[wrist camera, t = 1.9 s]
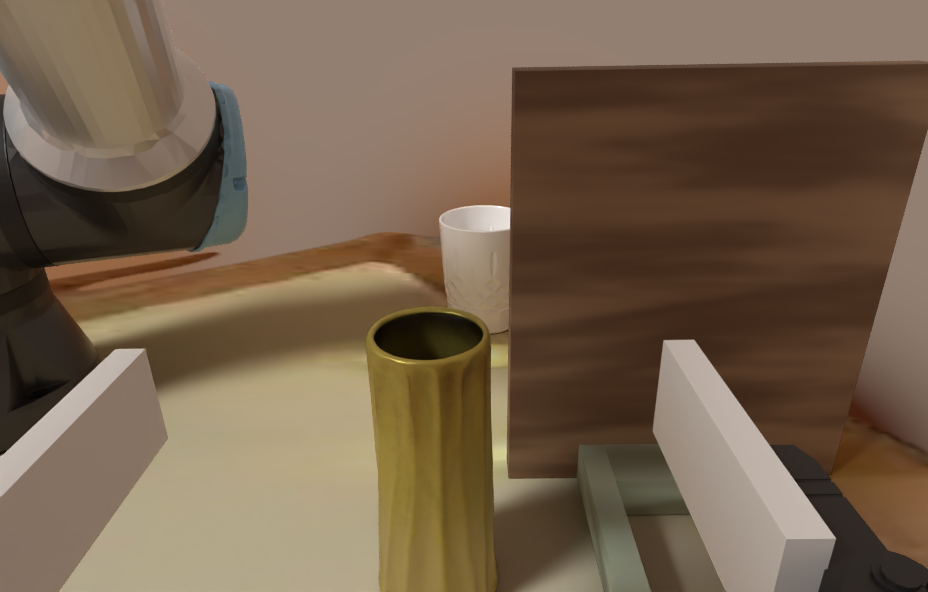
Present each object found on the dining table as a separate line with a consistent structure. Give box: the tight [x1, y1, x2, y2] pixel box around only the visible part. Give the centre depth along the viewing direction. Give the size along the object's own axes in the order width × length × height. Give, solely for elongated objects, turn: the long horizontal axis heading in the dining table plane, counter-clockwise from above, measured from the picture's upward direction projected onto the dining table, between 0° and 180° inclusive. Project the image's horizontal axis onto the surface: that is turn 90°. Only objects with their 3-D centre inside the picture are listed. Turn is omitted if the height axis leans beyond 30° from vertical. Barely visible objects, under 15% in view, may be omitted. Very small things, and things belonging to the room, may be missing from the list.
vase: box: [366, 306, 498, 592], centre depth 30 cm, size 6×6×14 cm
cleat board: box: [507, 61, 928, 592], centre depth 29 cm, size 15×20×24 cm
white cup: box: [439, 205, 510, 334], centre depth 58 cm, size 8×8×10 cm
